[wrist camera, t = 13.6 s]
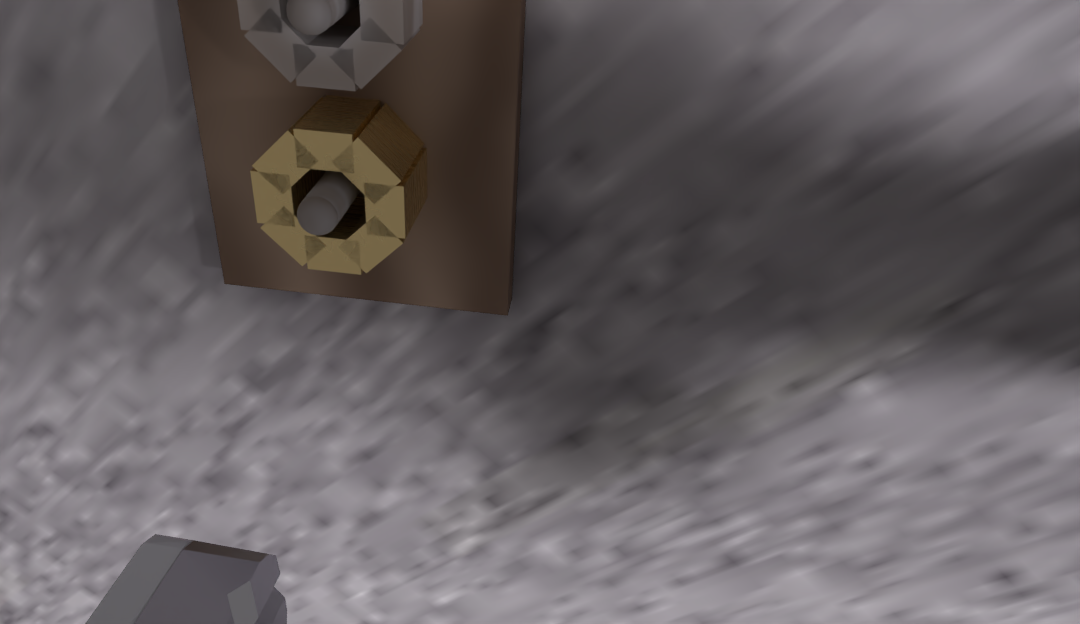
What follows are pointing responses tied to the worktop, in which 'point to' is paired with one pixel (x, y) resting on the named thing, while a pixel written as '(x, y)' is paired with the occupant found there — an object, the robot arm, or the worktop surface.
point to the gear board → (394, 78)
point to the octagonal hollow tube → (366, 160)
